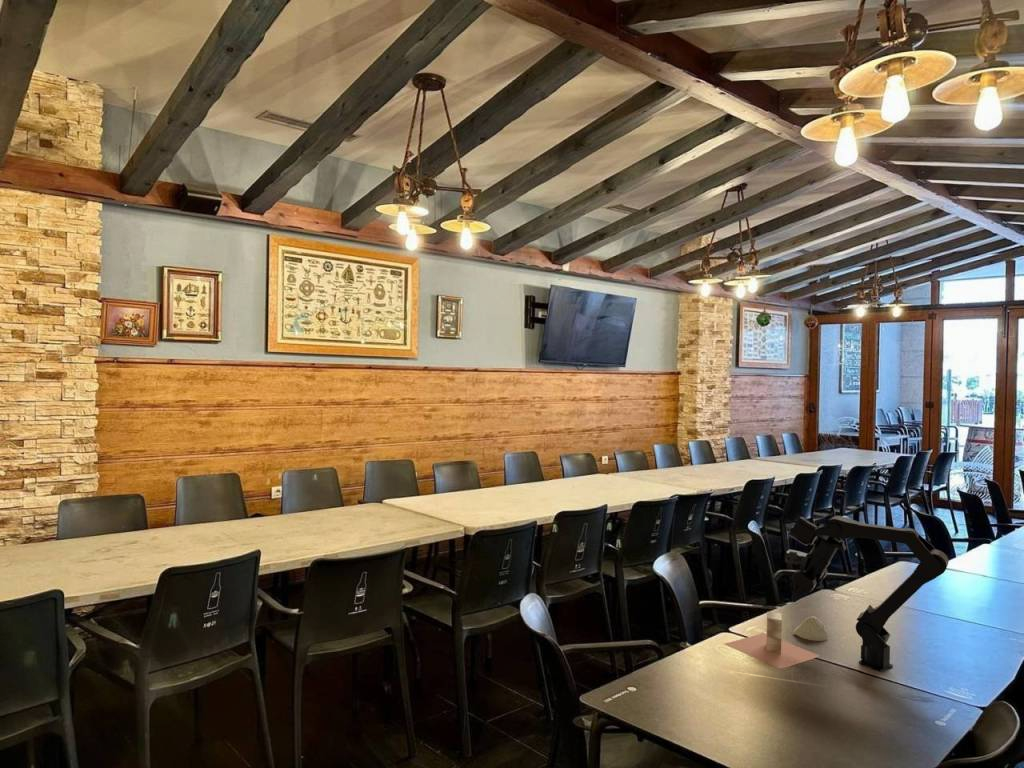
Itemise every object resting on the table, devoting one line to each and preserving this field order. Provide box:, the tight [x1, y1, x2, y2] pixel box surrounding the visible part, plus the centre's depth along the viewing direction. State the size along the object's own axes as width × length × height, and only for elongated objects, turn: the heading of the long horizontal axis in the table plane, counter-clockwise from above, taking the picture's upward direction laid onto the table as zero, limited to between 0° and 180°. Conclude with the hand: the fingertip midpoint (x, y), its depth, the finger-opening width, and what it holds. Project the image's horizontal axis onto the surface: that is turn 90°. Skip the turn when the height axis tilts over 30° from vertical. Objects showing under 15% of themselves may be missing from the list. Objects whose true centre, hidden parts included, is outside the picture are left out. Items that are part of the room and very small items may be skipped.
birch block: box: [766, 611, 783, 654], centre depth 203 cm, size 4×6×10 cm, turn 160°
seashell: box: [792, 615, 829, 642], centre depth 213 cm, size 8×8×8 cm
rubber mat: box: [724, 632, 821, 670], centre depth 202 cm, size 20×18×1 cm
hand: (797, 597), depth 206 cm, fingers open, 9 cm apart
